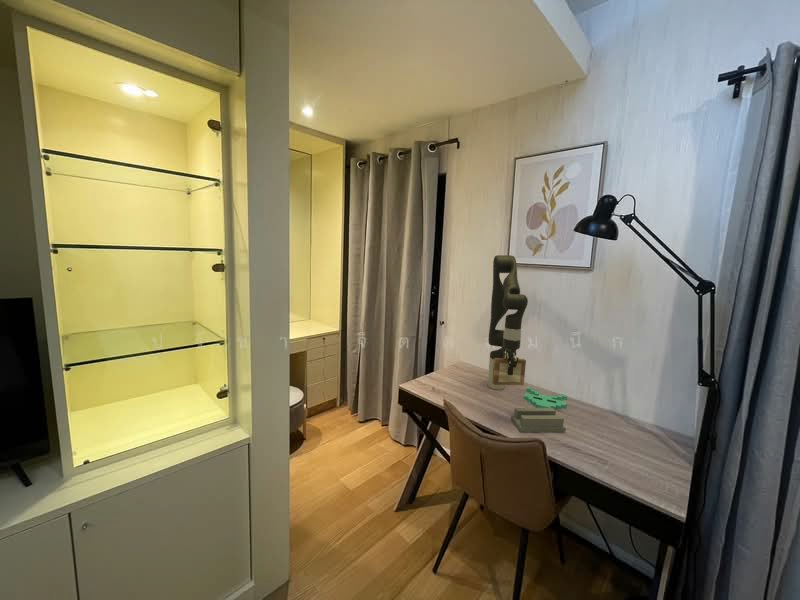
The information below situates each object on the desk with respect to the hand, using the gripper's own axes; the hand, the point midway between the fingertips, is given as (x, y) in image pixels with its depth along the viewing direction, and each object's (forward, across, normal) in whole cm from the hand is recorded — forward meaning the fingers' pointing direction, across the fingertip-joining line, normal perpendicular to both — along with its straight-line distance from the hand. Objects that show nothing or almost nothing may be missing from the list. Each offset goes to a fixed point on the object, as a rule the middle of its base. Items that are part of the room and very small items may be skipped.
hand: (508, 373), depth 157 cm
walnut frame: (+5, 0, 0) cm, 5 cm away
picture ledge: (+21, +8, +12) cm, 26 cm away
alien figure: (+22, -16, +27) cm, 38 cm away
